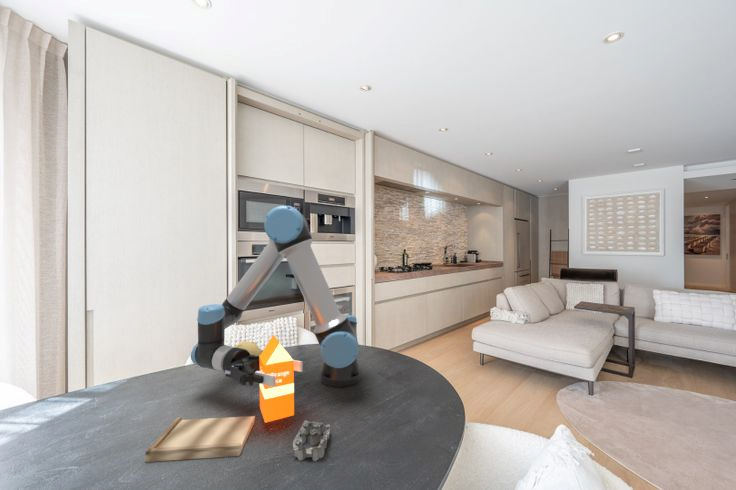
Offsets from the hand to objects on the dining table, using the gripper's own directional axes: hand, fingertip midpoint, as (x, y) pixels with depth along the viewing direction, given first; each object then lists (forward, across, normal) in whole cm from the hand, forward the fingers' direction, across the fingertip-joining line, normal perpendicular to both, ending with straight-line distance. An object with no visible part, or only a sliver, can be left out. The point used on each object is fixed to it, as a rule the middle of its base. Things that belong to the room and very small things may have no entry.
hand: (288, 373), depth 82 cm
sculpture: (-42, -22, -14) cm, 49 cm away
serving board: (-14, +14, -14) cm, 24 cm away
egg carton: (+10, +4, -15) cm, 18 cm away
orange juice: (-5, 0, -11) cm, 12 cm away
